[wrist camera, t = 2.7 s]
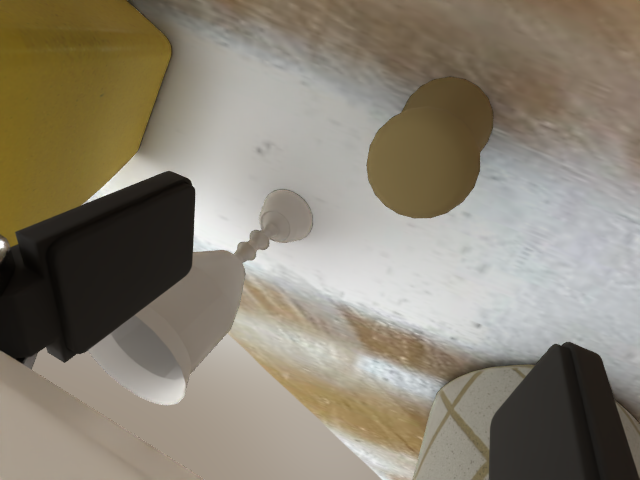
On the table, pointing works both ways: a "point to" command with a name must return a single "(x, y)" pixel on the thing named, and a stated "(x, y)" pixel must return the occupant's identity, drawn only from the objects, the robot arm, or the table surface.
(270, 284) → the table surface
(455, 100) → the pepper shaker
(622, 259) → the table surface
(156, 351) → the chalice
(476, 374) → the planter
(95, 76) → the flower pot
